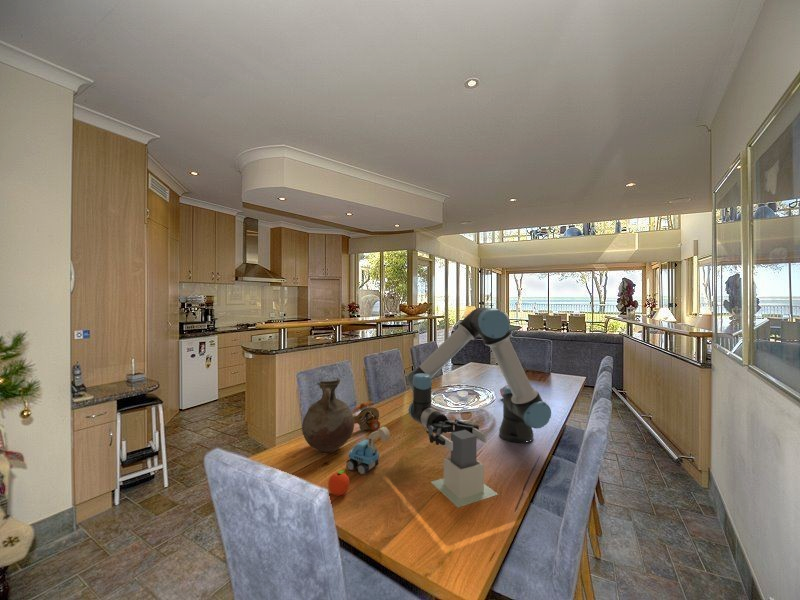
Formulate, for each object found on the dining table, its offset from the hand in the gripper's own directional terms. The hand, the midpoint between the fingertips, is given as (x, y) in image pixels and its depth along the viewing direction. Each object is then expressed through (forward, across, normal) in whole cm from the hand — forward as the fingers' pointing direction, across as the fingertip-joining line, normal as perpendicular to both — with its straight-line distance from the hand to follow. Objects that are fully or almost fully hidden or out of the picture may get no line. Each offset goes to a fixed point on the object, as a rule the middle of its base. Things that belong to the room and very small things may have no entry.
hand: (469, 442), depth 112 cm
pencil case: (-67, -85, -18) cm, 109 cm away
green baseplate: (-3, 0, -18) cm, 18 cm away
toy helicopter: (-67, +13, -18) cm, 70 cm away
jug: (-54, +33, -18) cm, 65 cm away
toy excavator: (-30, +24, -18) cm, 42 cm away
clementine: (-20, +38, -18) cm, 46 cm away
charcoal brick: (-3, 0, -8) cm, 9 cm away
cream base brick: (-3, 0, -16) cm, 17 cm away
